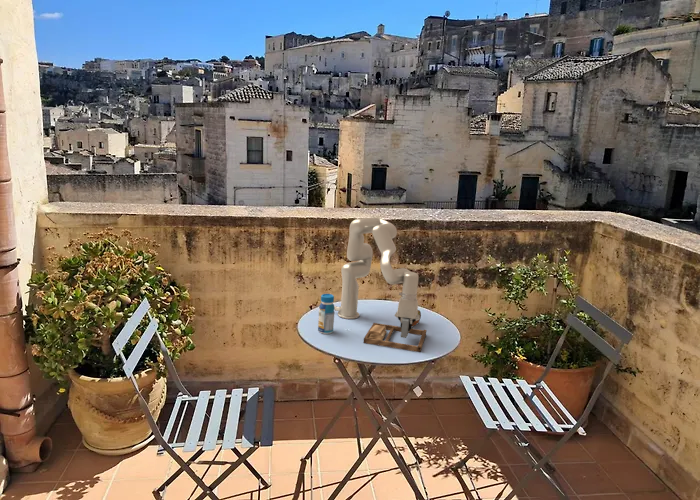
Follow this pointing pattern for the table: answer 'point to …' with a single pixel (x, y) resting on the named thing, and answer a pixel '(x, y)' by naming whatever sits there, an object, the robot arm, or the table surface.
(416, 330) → the rack
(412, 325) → the tin
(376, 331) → the offcut stack
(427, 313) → the table surface
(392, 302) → the table surface
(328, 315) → the beverage bottle
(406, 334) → the grey rectangular block
